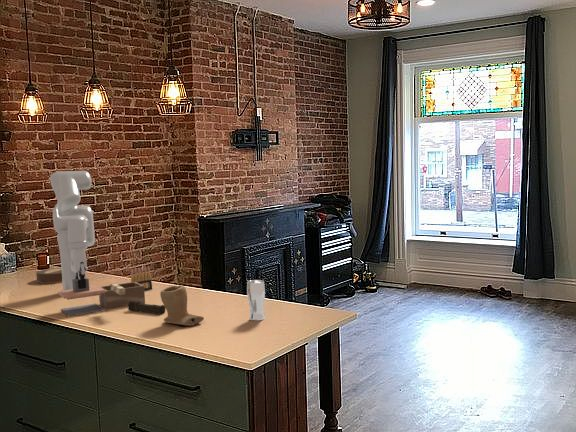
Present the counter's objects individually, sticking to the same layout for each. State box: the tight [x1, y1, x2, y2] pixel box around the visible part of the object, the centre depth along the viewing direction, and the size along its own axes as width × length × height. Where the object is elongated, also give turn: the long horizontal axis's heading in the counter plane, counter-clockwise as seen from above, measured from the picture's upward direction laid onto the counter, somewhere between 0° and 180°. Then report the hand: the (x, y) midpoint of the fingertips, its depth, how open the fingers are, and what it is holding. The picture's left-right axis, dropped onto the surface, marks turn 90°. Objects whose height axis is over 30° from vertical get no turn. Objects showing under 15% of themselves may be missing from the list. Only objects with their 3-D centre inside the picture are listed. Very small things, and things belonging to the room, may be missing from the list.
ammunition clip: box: [130, 265, 153, 292], centre depth 309 cm, size 11×2×12 cm, turn 130°
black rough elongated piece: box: [127, 301, 166, 316], centre depth 267 cm, size 19×4×5 cm, turn 60°
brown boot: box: [160, 284, 205, 327], centre depth 245 cm, size 15×12×15 cm
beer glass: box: [246, 279, 266, 322], centre depth 248 cm, size 7×7×15 cm
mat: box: [60, 303, 105, 317], centre depth 274 cm, size 14×15×1 cm
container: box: [35, 267, 63, 285], centre depth 346 cm, size 20×20×6 cm
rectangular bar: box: [110, 282, 125, 295], centre depth 264 cm, size 14×2×2 cm, turn 32°
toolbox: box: [98, 281, 146, 311], centre depth 283 cm, size 12×17×8 cm
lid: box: [57, 277, 105, 301], centre depth 273 cm, size 12×17×7 cm
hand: (80, 287), depth 273 cm, fingers closed on lid, 4 cm apart
